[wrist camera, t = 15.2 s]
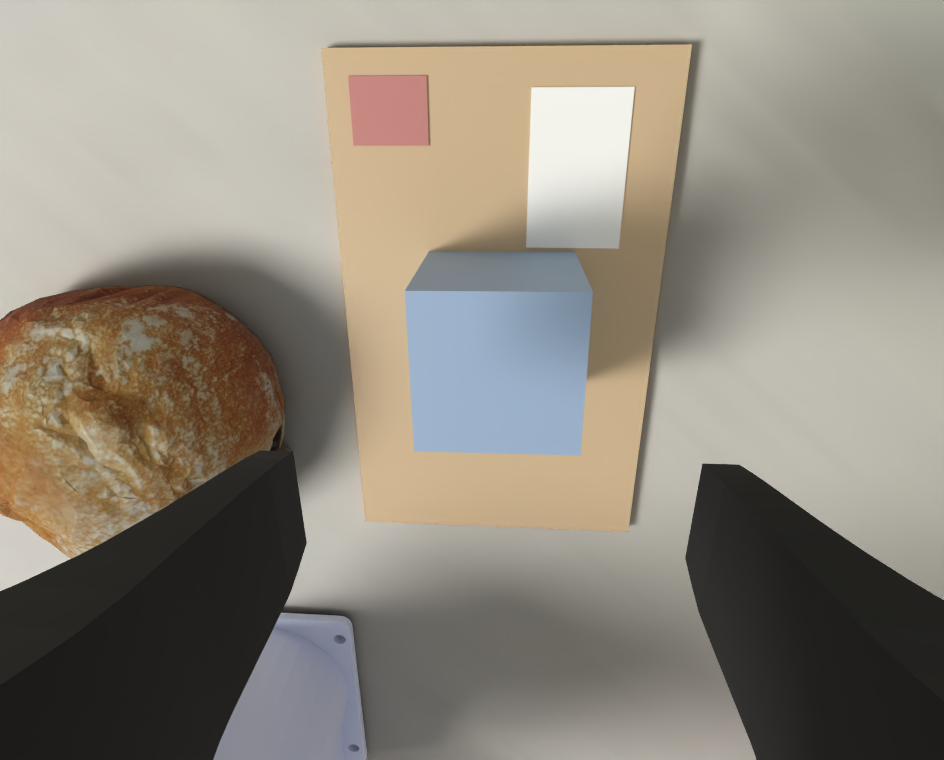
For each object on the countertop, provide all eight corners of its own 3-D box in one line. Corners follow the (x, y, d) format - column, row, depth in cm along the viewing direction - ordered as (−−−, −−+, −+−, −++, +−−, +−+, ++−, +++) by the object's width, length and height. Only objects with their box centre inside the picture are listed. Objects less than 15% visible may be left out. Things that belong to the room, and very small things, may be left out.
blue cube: (566, 385, 20) (580, 455, 16) (434, 382, 20) (414, 451, 16) (574, 251, 18) (593, 292, 14) (428, 251, 18) (404, 290, 14)
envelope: (626, 526, 23) (628, 532, 22) (367, 516, 23) (365, 522, 23) (688, 45, 16) (692, 44, 16) (324, 49, 17) (320, 47, 16)
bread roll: (273, 477, 27) (294, 612, 21) (-4, 494, 23) (-87, 669, 17) (287, 268, 23) (318, 356, 17) (-47, 242, 19) (-181, 344, 12)
